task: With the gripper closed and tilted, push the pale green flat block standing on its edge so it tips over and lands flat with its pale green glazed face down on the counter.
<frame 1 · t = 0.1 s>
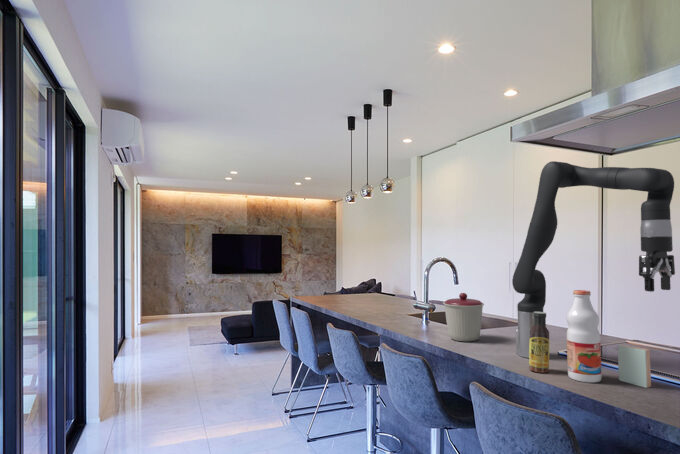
hand: (657, 290, 124), 29 cm above the countertop, tool pointing down, fingers open, 8 cm apart
pale green flat block: (634, 383, 131), on the countertop
sauce bottle: (539, 371, 144), on the countertop
fruit juice: (584, 379, 135), on the countertop
canister: (464, 339, 193), on the countertop
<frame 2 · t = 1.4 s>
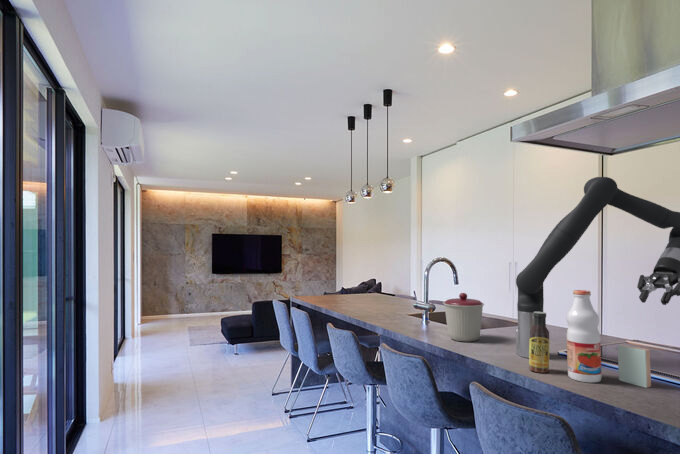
hand: (652, 301, 136), 24 cm above the countertop, tool tilted 45°, fingers open, 5 cm apart
nothing on the countertop moved.
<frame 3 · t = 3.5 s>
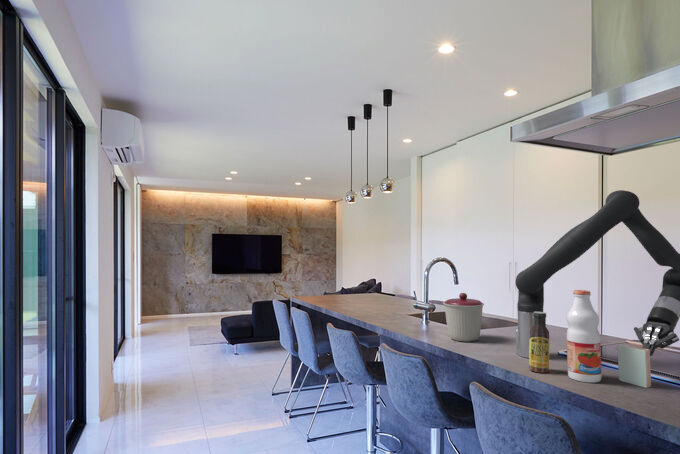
hand: (645, 355, 133), 8 cm above the countertop, tool tilted 45°, fingers closed
nothing on the countertop moved.
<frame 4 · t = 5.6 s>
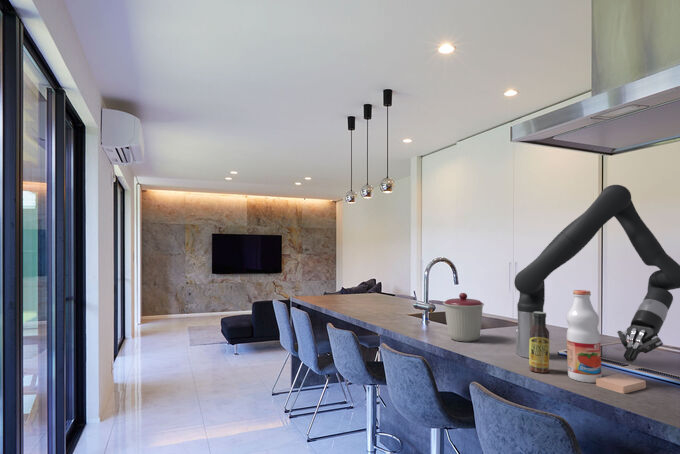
hand: (628, 360, 130), 7 cm above the countertop, tool tilted 45°, fingers closed
pale green flat block: (631, 381, 130), point 1 cm above the countertop, tilted 90°
everything else where it was.
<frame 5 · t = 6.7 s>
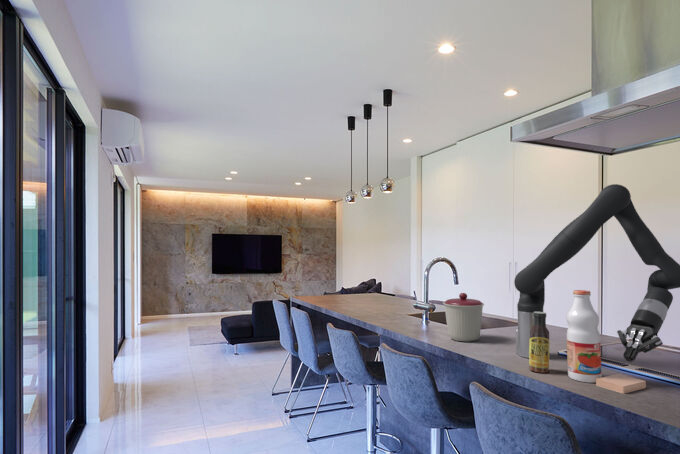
hand: (627, 359, 130), 8 cm above the countertop, tool tilted 45°, fingers closed
nothing on the countertop moved.
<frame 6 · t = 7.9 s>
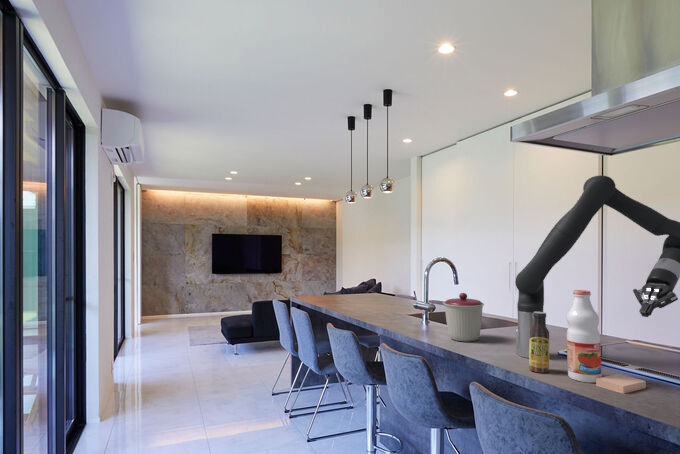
hand: (643, 315, 134), 20 cm above the countertop, tool tilted 45°, fingers closed
nothing on the countertop moved.
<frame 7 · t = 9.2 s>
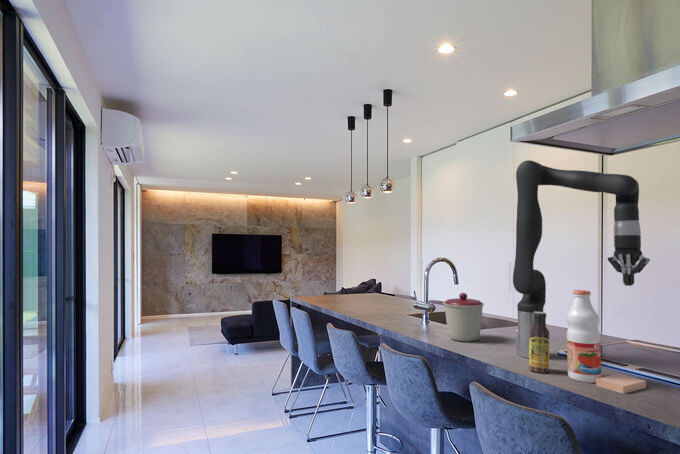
hand: (628, 285, 143), 29 cm above the countertop, tool pointing down, fingers closed
nothing on the countertop moved.
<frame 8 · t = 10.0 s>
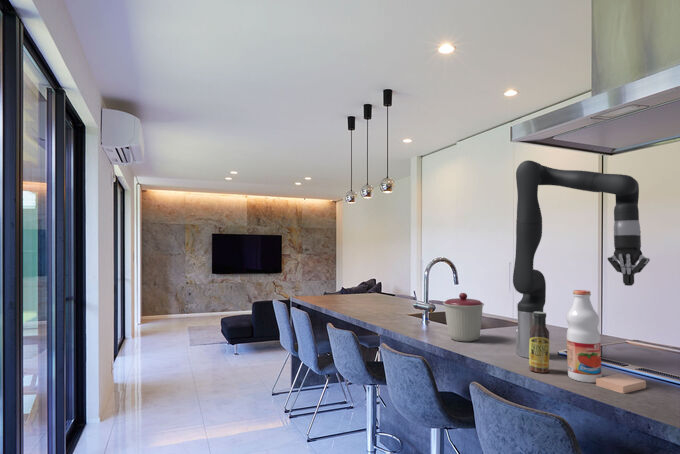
hand: (628, 285, 143), 29 cm above the countertop, tool pointing down, fingers closed
nothing on the countertop moved.
at the end: pale green flat block tilted 90°; pale green flat block inside the target area (0.7 cm from its centre), point 0.7 cm above the countertop; pale green flat block touching countertop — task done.
